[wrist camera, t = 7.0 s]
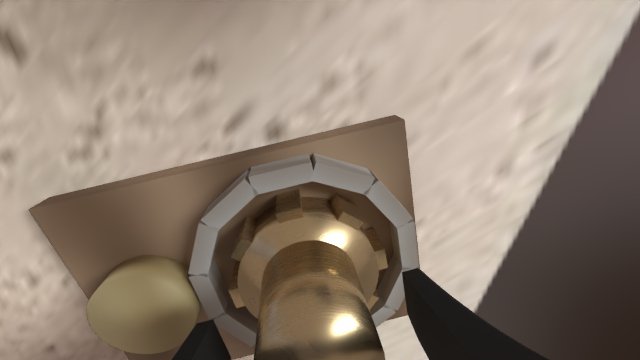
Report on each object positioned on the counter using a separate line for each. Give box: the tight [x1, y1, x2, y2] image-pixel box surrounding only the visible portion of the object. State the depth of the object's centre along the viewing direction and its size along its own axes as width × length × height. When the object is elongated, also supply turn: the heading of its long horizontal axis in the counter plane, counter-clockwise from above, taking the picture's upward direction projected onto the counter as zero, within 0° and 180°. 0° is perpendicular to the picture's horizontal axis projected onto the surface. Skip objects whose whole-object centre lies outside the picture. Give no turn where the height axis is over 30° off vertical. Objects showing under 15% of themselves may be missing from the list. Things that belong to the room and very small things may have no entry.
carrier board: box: [29, 115, 420, 360], centre depth 14 cm, size 16×11×3 cm
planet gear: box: [229, 189, 388, 360], centre depth 12 cm, size 7×7×6 cm
